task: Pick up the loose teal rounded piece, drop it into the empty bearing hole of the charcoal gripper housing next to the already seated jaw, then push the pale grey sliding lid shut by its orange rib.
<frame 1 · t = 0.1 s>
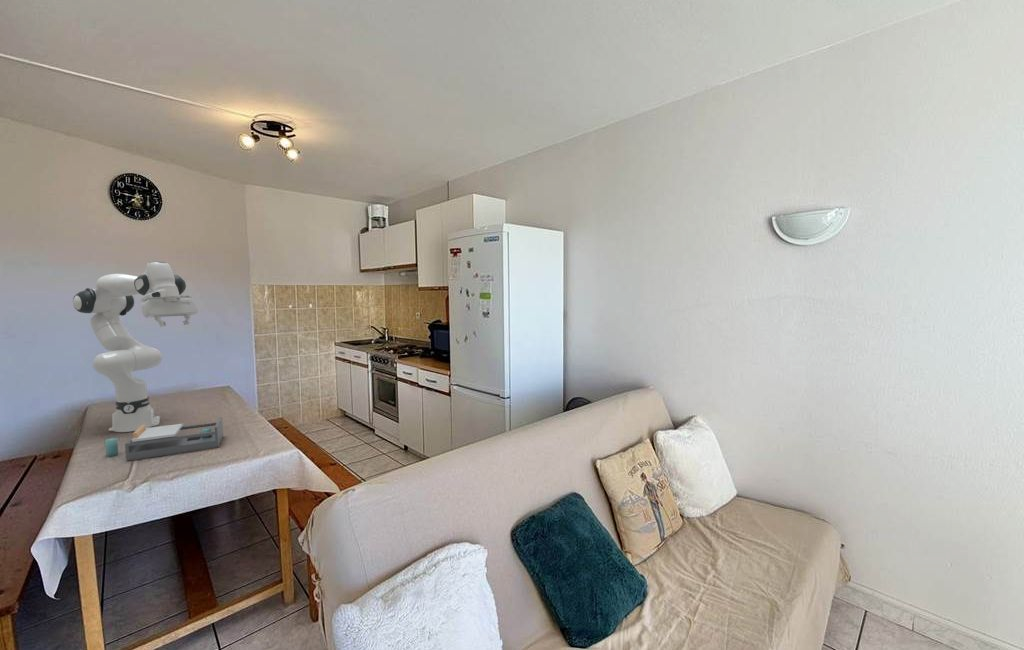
hand: (175, 325, 184), 52 cm above the table, tool tilted 20°, fingers open, 8 cm apart
housing: (178, 447, 177), on the table
teal rounded piece: (112, 454, 169), on the table
lid: (158, 429, 173), point 9 cm above the table, slide at 13.0 cm
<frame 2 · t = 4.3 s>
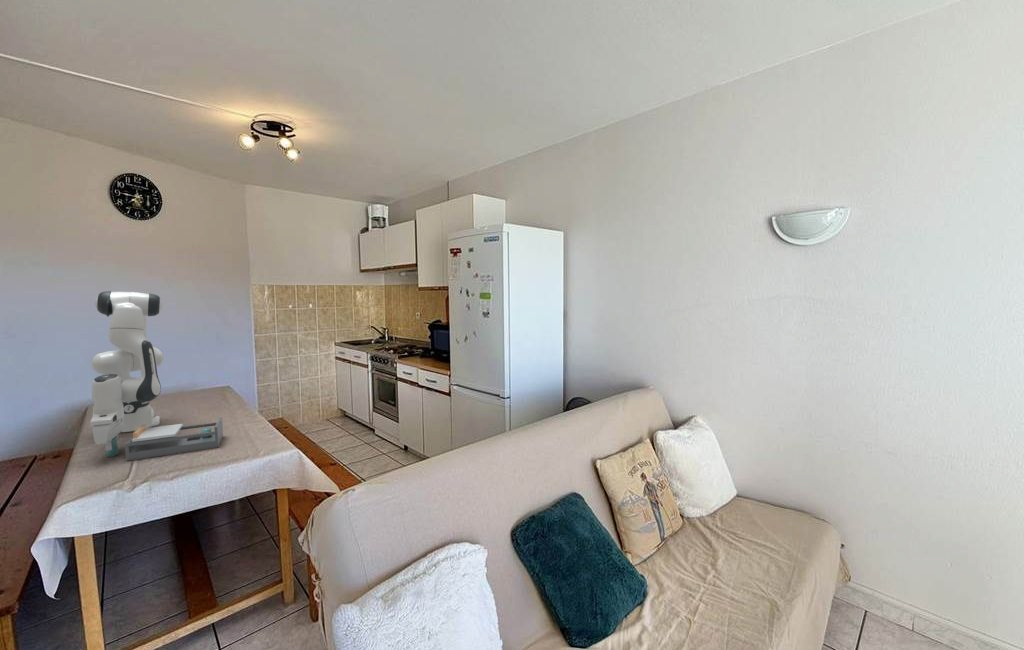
hand: (111, 447, 169), 3 cm above the table, tool pointing down, fingers closed on teal rounded piece, 4 cm apart
teal rounded piece: (112, 454, 169), on the table, touching gripper
everything else where it was.
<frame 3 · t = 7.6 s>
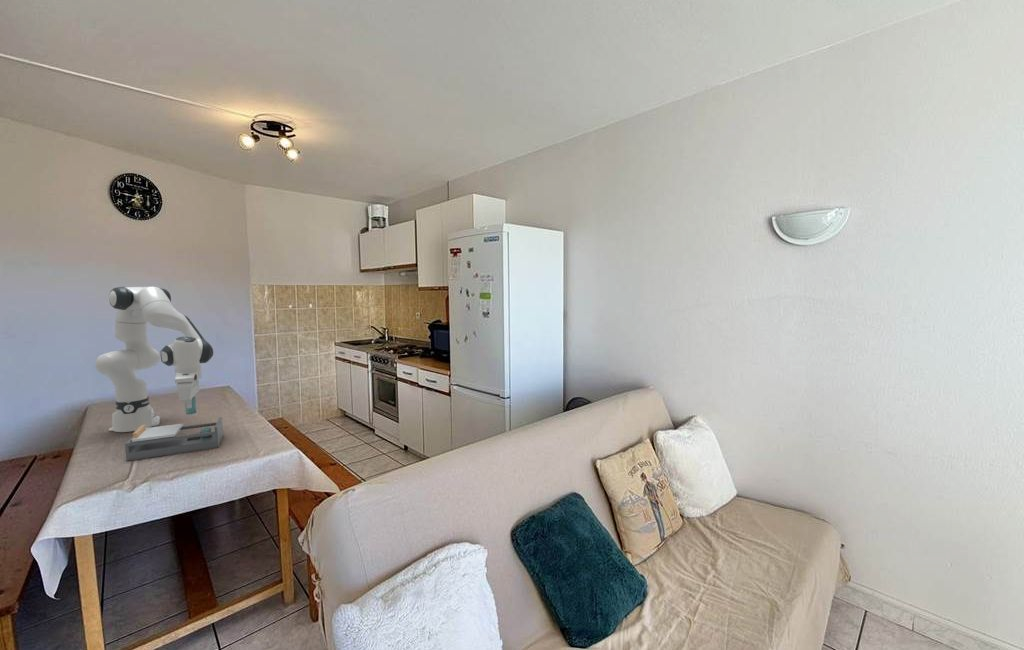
hand: (190, 406, 177), 17 cm above the table, tool pointing down, fingers closed on teal rounded piece, 4 cm apart
teal rounded piece: (191, 413, 178), point 14 cm above the table, touching gripper
everything else where it was.
when the fingers open (4 cm above the table, at t = 11.1 s): teal rounded piece drops 1 cm, resting in housing.
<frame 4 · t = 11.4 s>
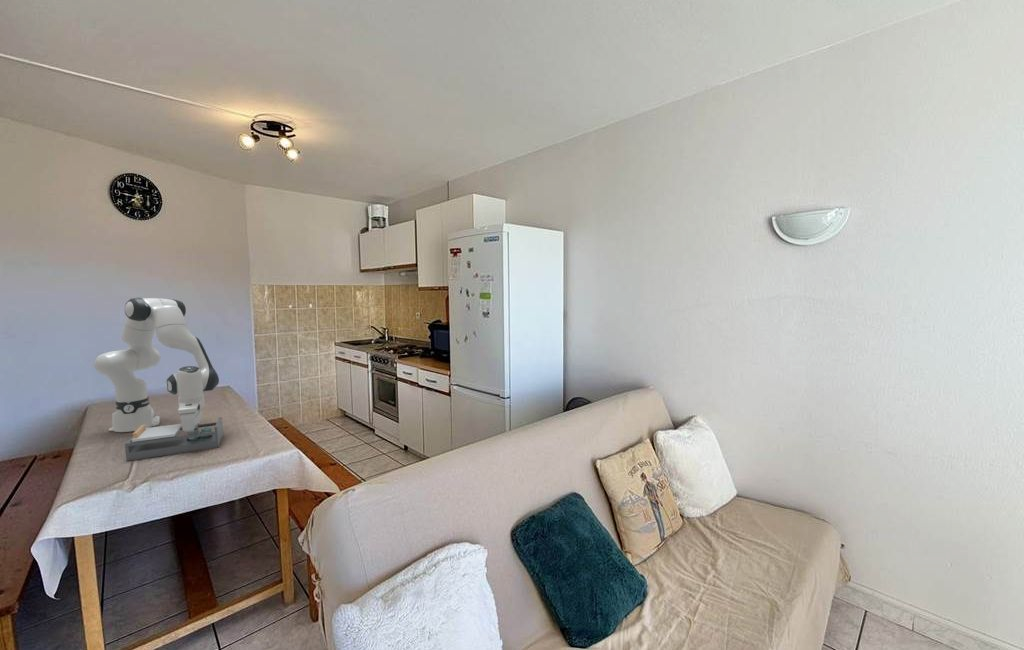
hand: (193, 435, 179), 4 cm above the table, tool pointing down, fingers open, 7 cm apart
teal rounded piece: (194, 445, 179), resting in housing
everything else where it was.
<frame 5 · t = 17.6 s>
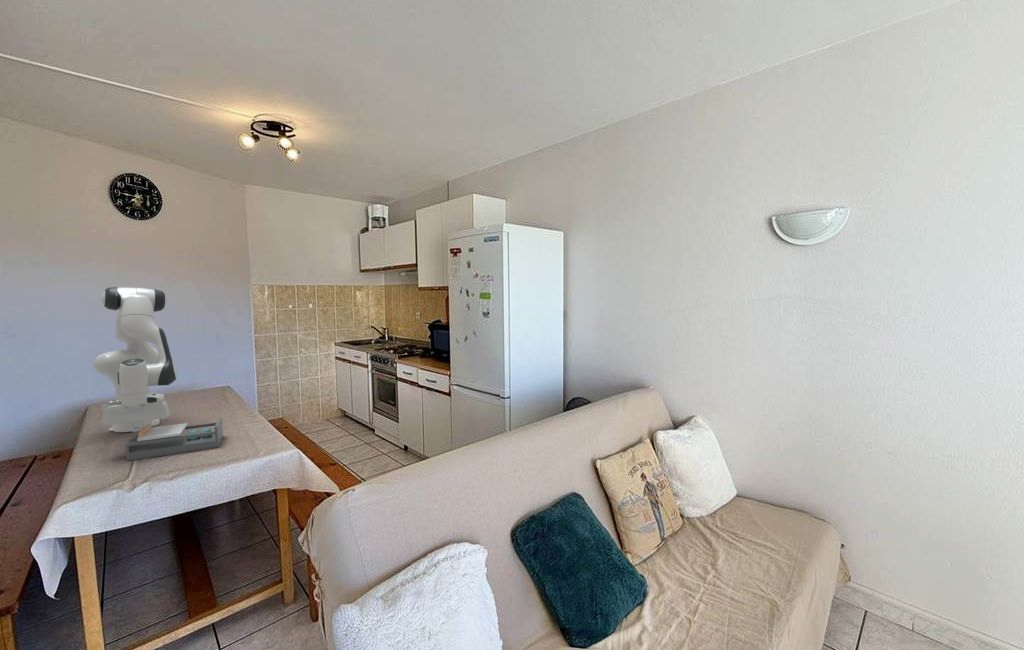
hand: (138, 431, 170), 9 cm above the table, tool pointing down, fingers closed
lid: (163, 429, 174), point 9 cm above the table, slide at 11.3 cm, touching gripper
everything else where it was.
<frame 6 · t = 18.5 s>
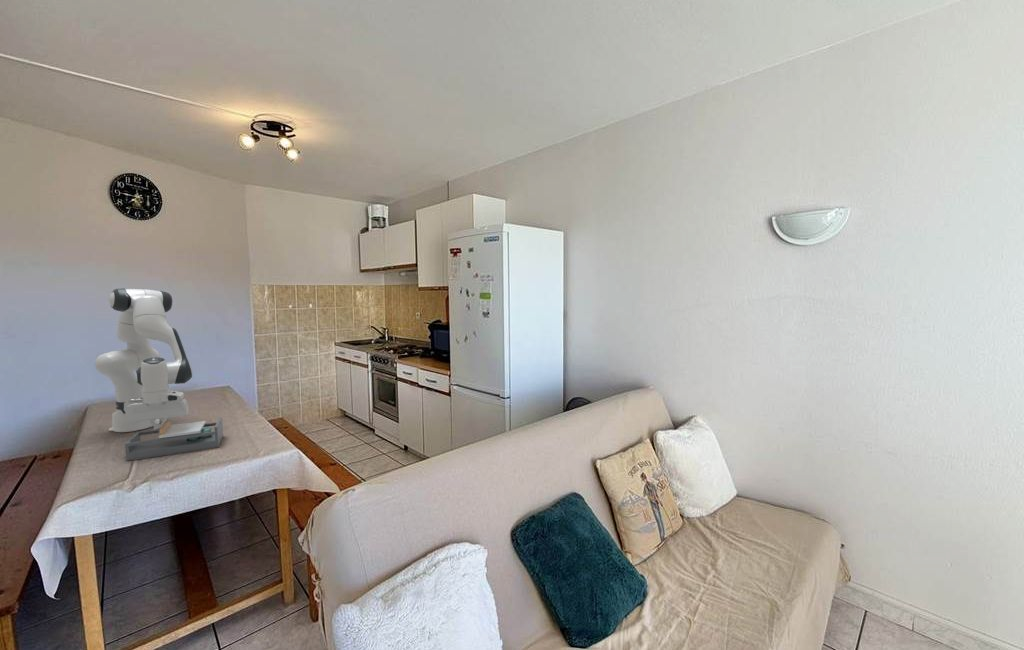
hand: (158, 429, 173), 9 cm above the table, tool pointing down, fingers closed
lid: (183, 426, 177), point 9 cm above the table, slide at 4.7 cm, touching gripper
everything else where it was.
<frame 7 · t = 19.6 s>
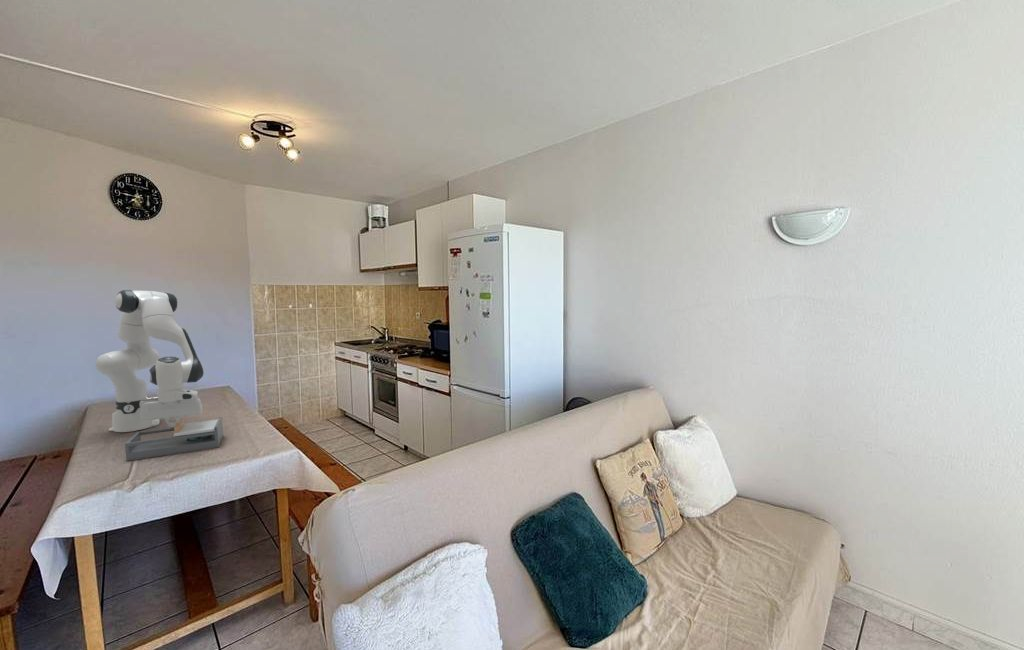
hand: (173, 427, 175), 9 cm above the table, tool pointing down, fingers closed
lid: (197, 425, 179), point 9 cm above the table, slide at 0.0 cm, touching gripper
everything else where it was.
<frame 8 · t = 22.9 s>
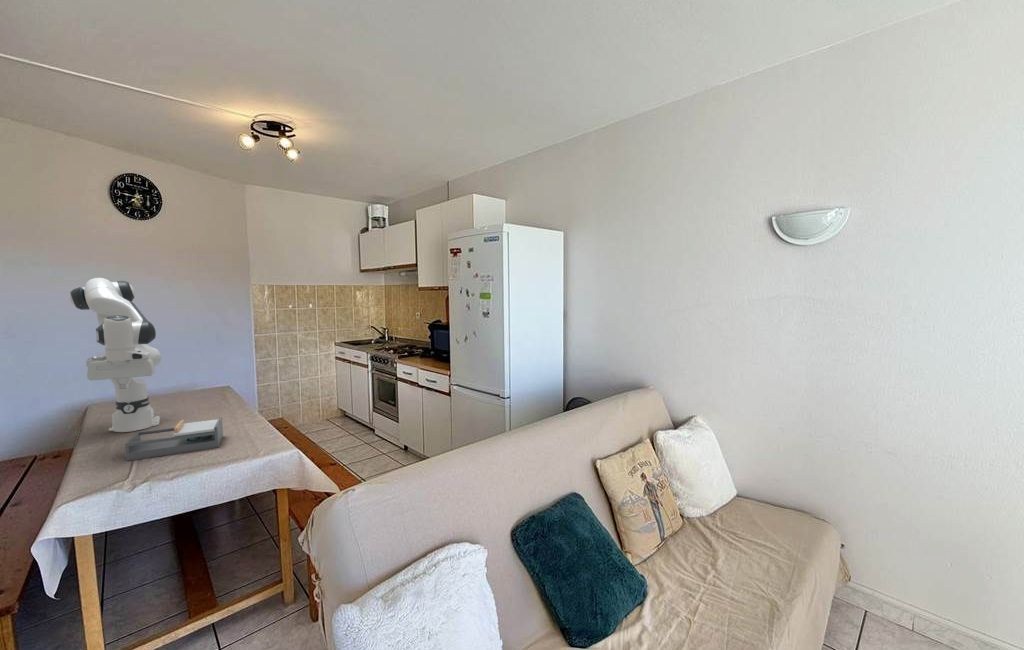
hand: (123, 388, 169), 27 cm above the table, tool pointing down, fingers closed
lid: (197, 425, 179), point 9 cm above the table, slide at 0.0 cm
everything else where it was.
at the end: teal rounded piece 0.1 cm from the target spot on the housing, point 0.0 cm above the housing's base; teal rounded piece tilted 0°; lid slide at 0.0 cm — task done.
